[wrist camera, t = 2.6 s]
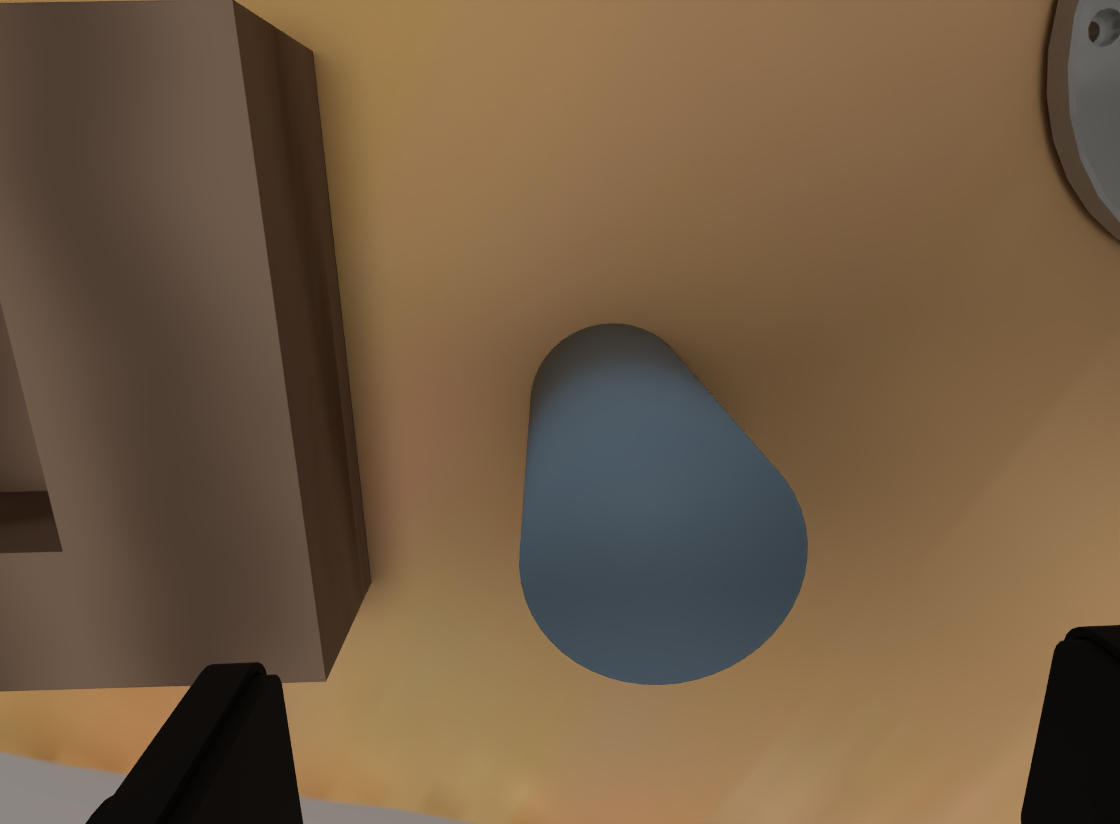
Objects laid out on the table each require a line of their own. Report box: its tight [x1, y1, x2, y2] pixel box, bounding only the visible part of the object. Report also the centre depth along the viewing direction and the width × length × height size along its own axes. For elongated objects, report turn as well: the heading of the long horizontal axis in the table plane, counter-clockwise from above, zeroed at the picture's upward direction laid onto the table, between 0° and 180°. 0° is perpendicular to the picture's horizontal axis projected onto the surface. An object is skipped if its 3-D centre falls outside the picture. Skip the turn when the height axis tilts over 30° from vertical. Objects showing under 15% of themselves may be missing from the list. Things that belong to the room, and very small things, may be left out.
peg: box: [519, 324, 808, 685], centre depth 17 cm, size 5×5×10 cm
